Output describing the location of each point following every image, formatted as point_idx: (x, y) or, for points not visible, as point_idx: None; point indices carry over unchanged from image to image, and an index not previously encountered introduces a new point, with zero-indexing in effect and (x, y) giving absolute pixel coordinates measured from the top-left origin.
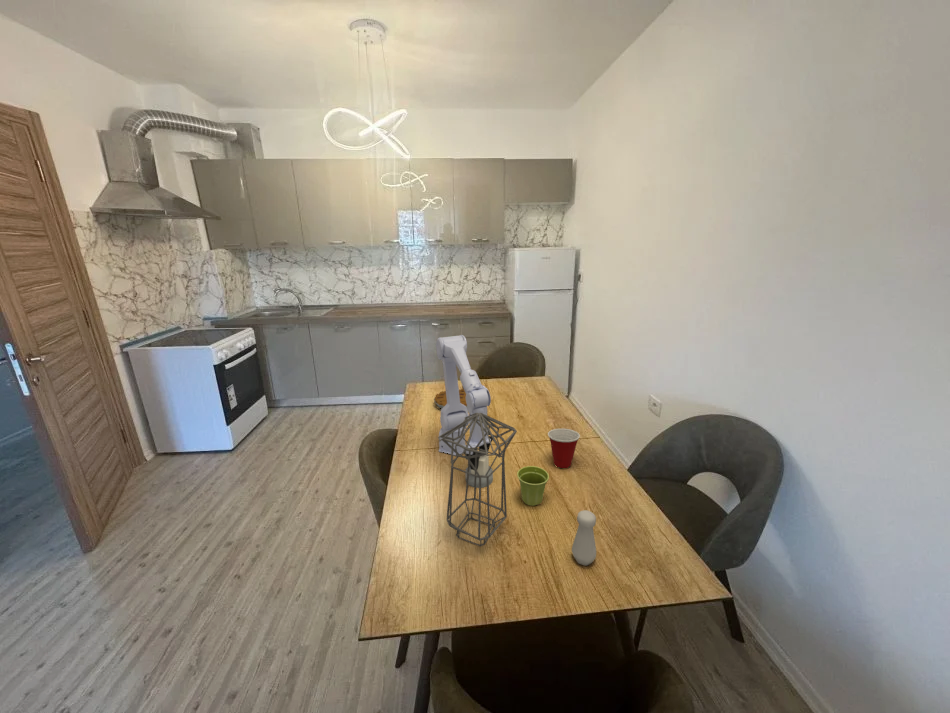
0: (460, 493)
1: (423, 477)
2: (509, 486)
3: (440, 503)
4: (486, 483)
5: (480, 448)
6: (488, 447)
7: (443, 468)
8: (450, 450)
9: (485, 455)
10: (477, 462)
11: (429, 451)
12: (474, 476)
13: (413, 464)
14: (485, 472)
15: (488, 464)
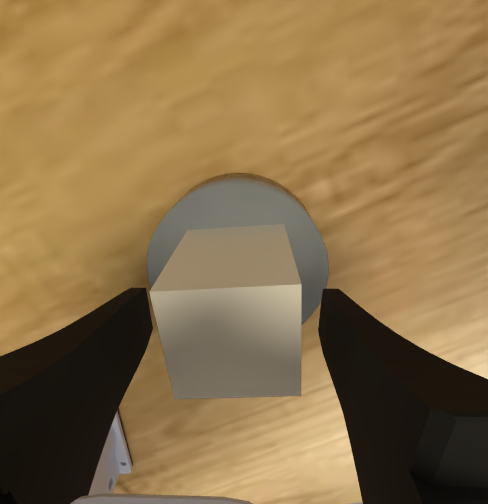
0: (385, 284)
1: (319, 443)
2: (225, 40)
3: (479, 329)
4: (287, 192)
5: (116, 393)
6: (77, 345)
7: (229, 412)
8: (110, 447)
9: (186, 310)
10: (393, 332)
11: (149, 487)
12: (305, 277)
13: (254, 494)
14: (252, 230)
15: (181, 244)
